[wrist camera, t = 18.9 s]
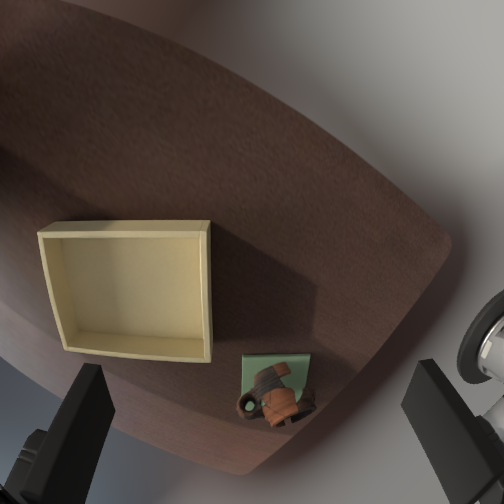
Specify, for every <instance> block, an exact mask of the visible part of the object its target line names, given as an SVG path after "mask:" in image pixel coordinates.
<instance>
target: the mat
mask: <svg viewBox="0 0 504 504" xmlns="http://www.w3.org/2000/svg"><path fill="white" fill-rule="evenodd" d="M281 362H286V364H287V366H288V368H289V369H290V370H291V373H290V374H288V375H285V376H283V377H281V378H280V380H281V381H282V382H283V384H284V385H285V387H288V388H291V389H293V390H294V391H295V399H296V402H297V401H298V400H299V399H300V397H301V395H302V389H303V388H305V385H306V379H307V374H308V368H309V362H310V353H305V354H271V355H242V395H243V394H245V393H246V392H248V391H249V390H250V389H251V388H254V376H255V375H256V374H257V373H258V372H260V371H261V370H263V369H264V368H267V367H269V366H272V365H275V364H277V363H281ZM261 405H262V406H263V405H265V403H264V402H263V401H262V403H261ZM253 407H254V404H253V403H252V402H248V403H247V405H246V408H245V409H246V410H247V411H251V410H252V409H253Z"/></svg>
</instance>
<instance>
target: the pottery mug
mask: <svg viewBox="0 0 504 504" xmlns="http://www.w3.org/2000/svg"><path fill="white" fill-rule="evenodd" d="M290 373H291V370H290V369H289V368H288V366H287V364H286V362H281V363H277V364H275V365H272V366H269V367H267V368H264V369H263V370H261V371H260V372H258V373H257V374H256V375H255V376H254V388H251V389H250V390H249V391H248V392H246V393H245V394H243V395H242V396H241V397H240V398H239V399H238V401H237V403H236V411H238V412H239V416H240V417H242V418H244V419H247V420H251V419H256V418H264V419H265V420H267V421H269V422H270V424H271V427H273V428H276V427H281V426H285V422H284V420H285V419H288V418H290V417H291V422H292V423H294V422H297V421H299V420H301V419H303V418H305V417H306V416H308V415H309V414H311V413H312V412H314V411H315V410H316V408H317V407H316V406H315V404H314V400H315V396H316V393H315V390H313V394H311V393H310V390H309V389H307V388H303V389H302V395H301V397H300V399H299V400H298V401H297V402H296V399H295V391H294V390H293V389H291V388H288V387H285V385H284V384H283V382H282V381H281V380H280V378H281V377H283V376H285V375H288V374H290ZM262 401H263V402H264V403H265V405H263V406H262V405H261V403H262ZM248 402H252V403H253V404H254V407H253V409H252V410H251V411H247V410H246V409H245V408H246V405H247V403H248Z"/></svg>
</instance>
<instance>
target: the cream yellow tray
mask: <svg viewBox="0 0 504 504" xmlns="http://www.w3.org/2000/svg"><path fill="white" fill-rule="evenodd" d="M37 233H38V239H39V246H40V252H41V257H42V263H43V268H44V273H45V278H46V282H47V287H48V291H49V296H50V300H51V304H52V308H53V312H54V316H55V319H56V323H57V326H58V330H59V333H60V337H61V340H62V343H63V347H64V350H67V351H74V352H81V353H88V354H96V355H105V356H114V357H124V358H135V359H147V360H161V361H177V362H200V363H211V358H212V348H213V326H212V293H211V232H210V220H110V221H61V222H54V223H52V224H50V225H49V226H47V227H45V228H43V229H41V230H40V231H38V232H37Z"/></svg>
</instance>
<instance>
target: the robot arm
mask: <svg viewBox="0 0 504 504" xmlns="http://www.w3.org/2000/svg"><path fill="white" fill-rule="evenodd" d="M475 363H476V366H477V367H478V368H479V370H480V371H481V372H482V373H484V374H485V375H487V376H490V377H492V378H494V379H496V380H498V381H500V382H503V383H504V312H503V313H502V314H500V315H499V316H498V317H497V318H496V319H495V320H494V321H493V322H492V324H491V325H490V326H489V327H488V329H487V330H486V332H485V333H484V335H483V337H482V339H481V341H480V343H479V345H478V348H477V351H476V355H475ZM401 406H402V408H403V410H404V412H405V414H406V416H407V418H408V420H409V422H410V423H411V425H412V427H413V429H414V431H415V433H416V435H417V437H418V439H419V441H420V443H421V445H422V447H423V449H424V450H425V453H426V454H427V457H428V458H429V460H430V463H431V465H432V467H433V469H434V471H435V473H436V475H437V477H438V479H439V481H440V483H441V485H442V487H443V489H444V491H445V493H446V496H447V498H448V500H449V502H450V504H474V503H475V502H476V501H478V500H479V502H480V504H504V395H503V396H502V397H501V398H500V400H499V401H497V402H496V404H495V405H493V406H492V408H491V409H490V410H488V411H487V412H486V414H484V415H483V416H481V415H479V416H476V417H475V416H474V415H473V413H472V412H471V411H470V409H469V408H468V406H467V405H466V403H465V402H464V401H463V399H462V398H461V396H460V395H459V394H458V392H457V391H456V389H455V388H454V387H453V385H452V384H451V383H450V381H449V380H448V379H447V377H446V376H445V375H444V373H443V372H442V371H441V369H440V368H439V367H438V365H437V364H436V363H435V361H434V360H433V359H426V360H421V361H418V364H417V367H416V369H415V372H414V374H413V377H412V379H411V382H410V385H409V387H408V389H407V392H406V394H405V396H404V399H403V401H402V403H401ZM114 414H115V408H114V405H113V402H112V399H111V396H110V393H109V390H108V387H107V384H106V381H105V378H104V374H103V371H102V368H101V365H97V364H89V363H84V364H83V366H82V368H81V370H80V371H79V373H78V375H77V377H76V379H75V380H74V382H73V384H72V386H71V388H70V389H69V391H68V393H67V395H66V397H65V399H64V401H63V402H62V404H61V406H60V408H59V410H58V412H57V414H56V416H55V418H54V420H53V422H52V424H51V426H50V428H49V430H48V432H47V431H43V430H40V429H37V430H35V431H34V432H33V433H32V434H31V435H30V436H29V437H28V438H27V440H26V442H25V444H24V446H23V450H21V452H20V454H19V458H17V460H16V462H15V464H14V466H13V468H12V470H11V472H10V474H9V477H8V479H7V481H6V483H5V485H4V487H3V486H2V485H1V484H0V504H85V501H86V498H87V494H88V491H89V488H90V485H91V482H92V479H93V475H94V472H95V469H96V466H97V463H98V460H99V457H100V454H101V451H102V448H103V445H104V442H105V439H106V436H107V433H108V431H109V428H110V425H111V422H112V419H113V417H114Z"/></svg>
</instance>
